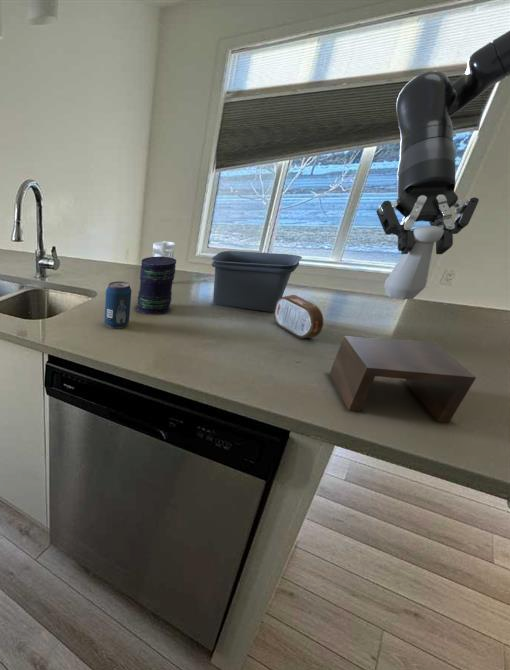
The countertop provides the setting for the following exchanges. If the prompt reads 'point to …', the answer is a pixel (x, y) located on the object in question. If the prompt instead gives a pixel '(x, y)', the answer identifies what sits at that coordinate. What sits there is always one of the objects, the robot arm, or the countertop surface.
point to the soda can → (117, 304)
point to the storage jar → (156, 285)
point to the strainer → (163, 249)
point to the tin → (298, 316)
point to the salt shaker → (413, 265)
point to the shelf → (401, 372)
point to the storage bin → (251, 278)
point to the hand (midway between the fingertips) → (424, 251)
